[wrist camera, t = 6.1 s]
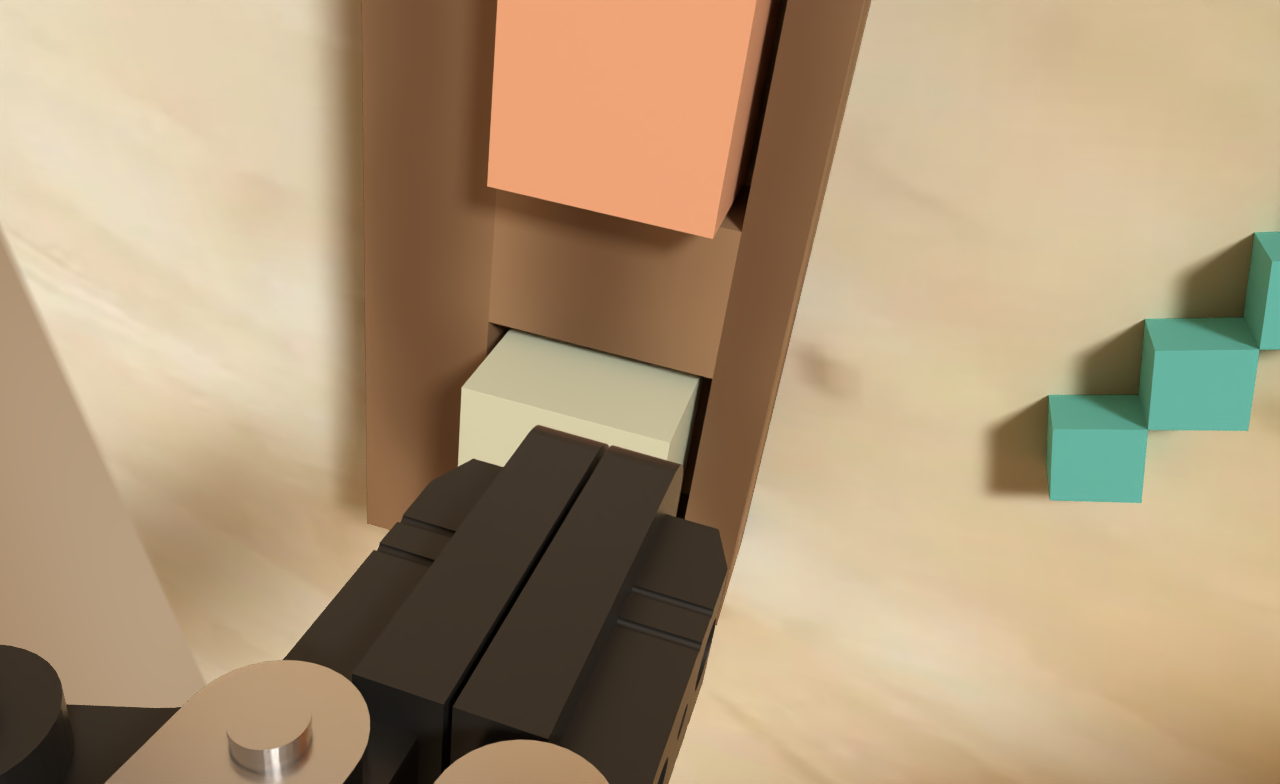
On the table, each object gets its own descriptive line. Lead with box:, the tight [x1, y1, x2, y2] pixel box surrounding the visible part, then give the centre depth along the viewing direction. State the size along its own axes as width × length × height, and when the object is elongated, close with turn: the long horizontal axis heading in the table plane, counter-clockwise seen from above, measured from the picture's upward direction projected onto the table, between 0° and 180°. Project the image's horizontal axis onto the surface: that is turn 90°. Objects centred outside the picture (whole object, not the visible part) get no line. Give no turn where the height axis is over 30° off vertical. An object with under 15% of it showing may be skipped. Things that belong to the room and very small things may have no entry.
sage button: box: [458, 328, 703, 516], centre depth 28 cm, size 5×5×4 cm
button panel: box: [362, 0, 871, 625], centre depth 25 cm, size 11×30×4 cm, turn 172°
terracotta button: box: [487, 0, 781, 239], centre depth 23 cm, size 5×5×4 cm
